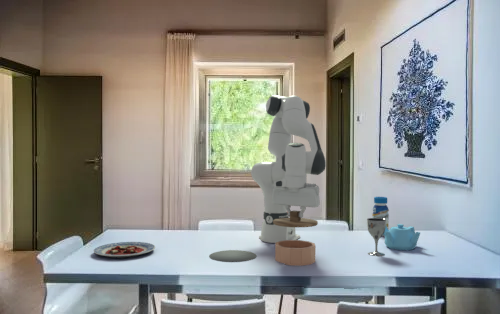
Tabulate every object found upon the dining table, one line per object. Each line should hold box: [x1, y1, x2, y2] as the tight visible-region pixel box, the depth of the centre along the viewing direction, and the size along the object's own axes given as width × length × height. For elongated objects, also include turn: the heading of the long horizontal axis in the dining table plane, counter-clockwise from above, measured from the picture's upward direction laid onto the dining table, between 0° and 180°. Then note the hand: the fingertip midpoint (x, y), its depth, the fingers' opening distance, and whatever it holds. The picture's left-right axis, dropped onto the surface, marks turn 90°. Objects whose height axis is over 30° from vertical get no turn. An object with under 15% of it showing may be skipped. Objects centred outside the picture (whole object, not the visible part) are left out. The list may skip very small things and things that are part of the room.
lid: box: [273, 210, 319, 228], centre depth 169 cm, size 18×18×5 cm
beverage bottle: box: [371, 196, 390, 237], centre depth 222 cm, size 8×8×20 cm
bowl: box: [274, 239, 316, 267], centre depth 169 cm, size 16×16×6 cm
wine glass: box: [366, 217, 386, 257], centre depth 179 cm, size 8×8×15 cm
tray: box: [208, 249, 258, 263], centre depth 174 cm, size 20×20×1 cm
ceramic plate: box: [93, 241, 156, 259], centre depth 181 cm, size 26×26×3 cm
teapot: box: [383, 223, 421, 251], centre depth 192 cm, size 15×15×11 cm
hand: (295, 216), depth 169 cm, fingers closed on lid, 3 cm apart
